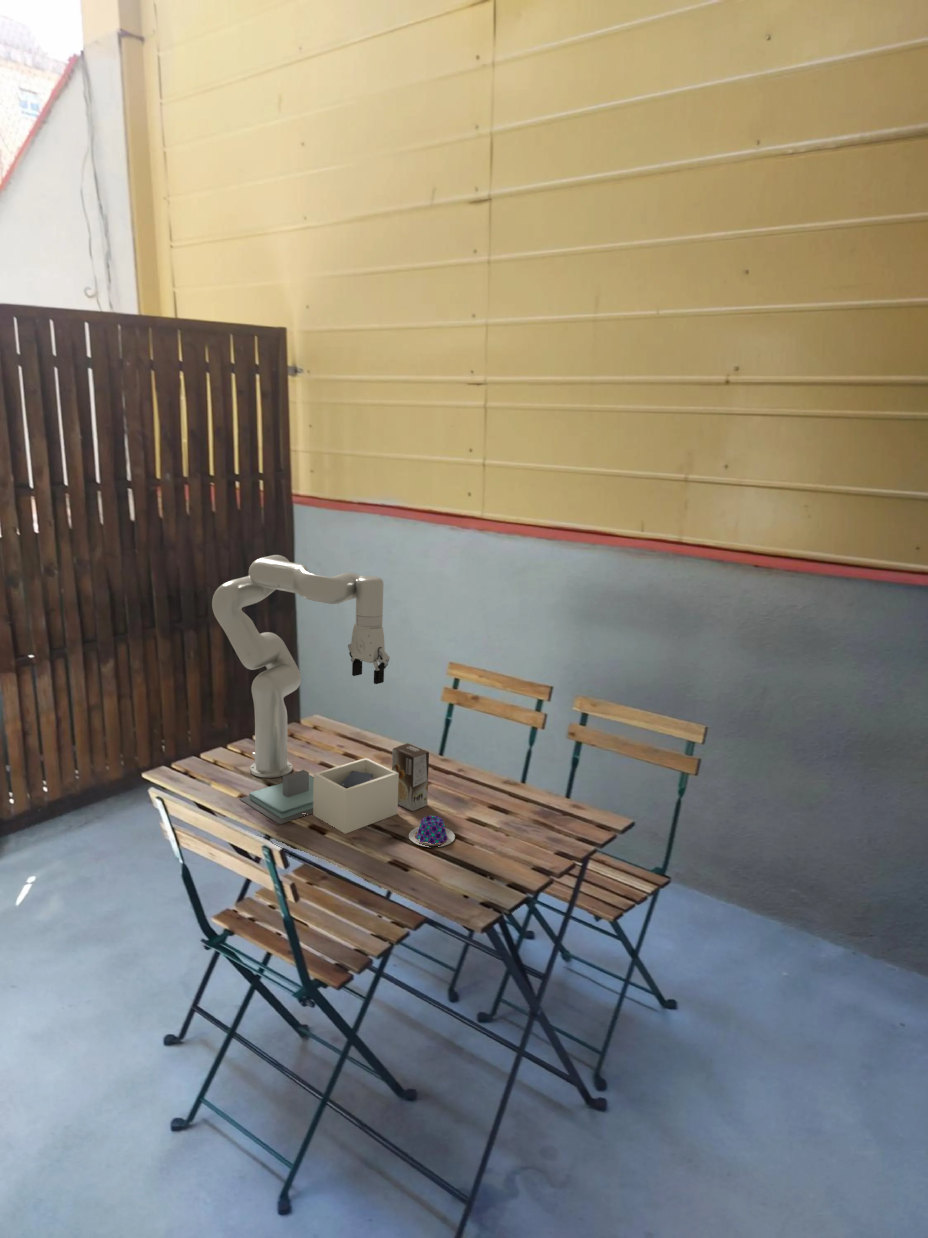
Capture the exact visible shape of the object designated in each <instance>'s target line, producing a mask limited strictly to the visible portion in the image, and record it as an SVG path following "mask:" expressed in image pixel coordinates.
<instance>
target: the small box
mask: <svg viewBox="0 0 928 1238" xmlns="http://www.w3.org/2000/svg"><path fill="white" fill-rule="evenodd" d="M372 777H373V774H369V773H362V772H356V771H352V772H351V773H350V774H349V775H348V776H347V777H346V779H345V780H344V781H343V782H342V783H341V784H340V785H341V786H342V787H344V788H346V789H347V788H350V787H353V786H356V785H359V784H362V783H365V782H368V781H371V780H372Z"/></svg>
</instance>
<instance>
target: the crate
mask: <svg viewBox="0 0 928 1238" xmlns="http://www.w3.org/2000/svg"><path fill="white" fill-rule="evenodd" d="M352 771H356V772H362V773H369V774H373V777H372V780H371V781H368V782H365V783H362V784H359V785H356V786H353V787H350V788H347V789H346V788H344V787H342V786H341V785H340V784H341V783H342V782H343V781H344V780H345V779H346V777H347V776H348V775H349V774H350V773H351V772H352ZM313 777H314V786H313V813H312V814H313V815H312V816H314V817H315V818H316V819H319V820H321V821H322V820H323V821H322V822H324V823H326V824H327V823H328V824H327V825H329V826H330V827H332V826H333V828H334V827H335V828H334V829H335V830H338V831H339V832H341V833H343V835H345V834H348V833H351V832H353V831H356V830H358V829H361V828H364V827H367V826H368V825H372V824H375V823H377V822H379V821H380V822H381V821H382V820H386V819H387V818H390V817H393V816H395V815H398V807H399V805H398V780H399V773H397V772H395V771H393V770H392V768H388V767H387V766H384V765H382V764H380V763H379V762H376V761H374V760H372V759H370V758H368V757H365V758H364V757H363V758H360V759H358V760H355V761H351V762H347V763H344V764H342V765H338V766H334V767H332V768H329V769H326V770H325V769H324V770H321V771H318V772H316V773H313Z"/></svg>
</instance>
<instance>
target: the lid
mask: <svg viewBox="0 0 928 1238" xmlns="http://www.w3.org/2000/svg"><path fill="white" fill-rule="evenodd" d="M313 786H314V776H312V775H311V774H310V772H309V771H307V770H305V769H302V770H299V771H296V772H292V773H291V772H290V773H288V774H287V775H284V776H282V782H279V783H277V784H274V785H271V786H267V787H264V788H260V789H258V790H253V791H251V792H249V793H248V794H249V795H248V796H249V799H251V800H252V801H254V802H255V803H257V804H259V805H260V806H262V807H263V808H265V809H267V810H268V811H270V812H272V813H273V814H275V815H276V816H278V817H280V818H281V819H282V818H285V817H288V816H291V815H294V814H297V813H300V812H303V811H306V810H308V809H311V808H313Z"/></svg>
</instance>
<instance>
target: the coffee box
mask: <svg viewBox="0 0 928 1238" xmlns="http://www.w3.org/2000/svg"><path fill="white" fill-rule="evenodd" d="M391 755H392V759H391V760H392V761H391V765H392V766H391V770H393V771H395V772H397V773H399V780H398V806H401V807H403V808H405V809H407V810H409V811H412V812H414V811H417V810H419V809H422V808H424V807H427V806H428V798H429V797H428V792H429V791H428V790H429V788H428V787H429V768H430V767H429V765H430V764H429V762H430V752H429V751H428V750H425V749H423V748H420V747H418V746H415V745H413V744H410V743H404V744H401V745H398V746H397V747H394V748H392V753H391Z"/></svg>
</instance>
